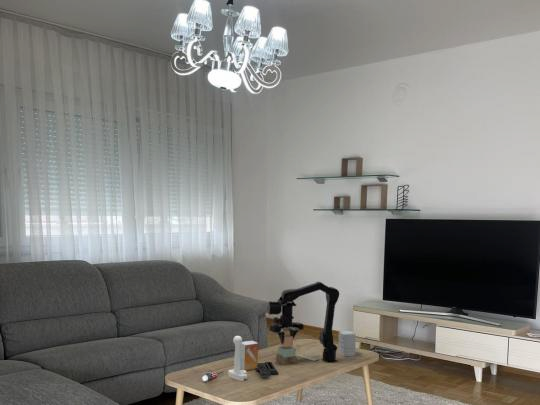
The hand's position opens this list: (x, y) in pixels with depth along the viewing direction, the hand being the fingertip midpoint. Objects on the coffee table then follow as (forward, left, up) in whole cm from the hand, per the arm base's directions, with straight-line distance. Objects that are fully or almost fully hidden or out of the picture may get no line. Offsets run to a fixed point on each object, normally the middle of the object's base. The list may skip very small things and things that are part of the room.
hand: (286, 343), depth 266 cm
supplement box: (-39, +3, -10) cm, 40 cm away
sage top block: (0, 0, -6) cm, 6 cm away
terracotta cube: (0, 0, -1) cm, 1 cm away
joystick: (+33, +10, -10) cm, 36 cm away
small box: (+23, 0, -10) cm, 25 cm away
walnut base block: (0, 0, -10) cm, 10 cm away
